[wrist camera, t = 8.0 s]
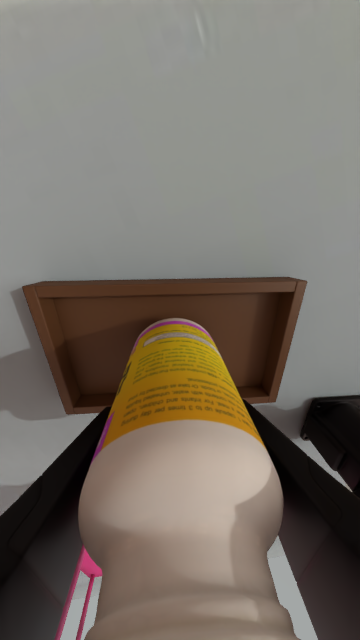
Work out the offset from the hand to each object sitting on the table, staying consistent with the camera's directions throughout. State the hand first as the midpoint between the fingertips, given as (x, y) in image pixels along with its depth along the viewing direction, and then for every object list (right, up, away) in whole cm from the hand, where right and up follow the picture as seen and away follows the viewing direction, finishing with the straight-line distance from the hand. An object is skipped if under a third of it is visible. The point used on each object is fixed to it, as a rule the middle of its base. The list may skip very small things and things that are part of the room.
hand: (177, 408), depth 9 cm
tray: (0, +3, +7) cm, 7 cm away
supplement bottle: (0, +2, +5) cm, 6 cm away
